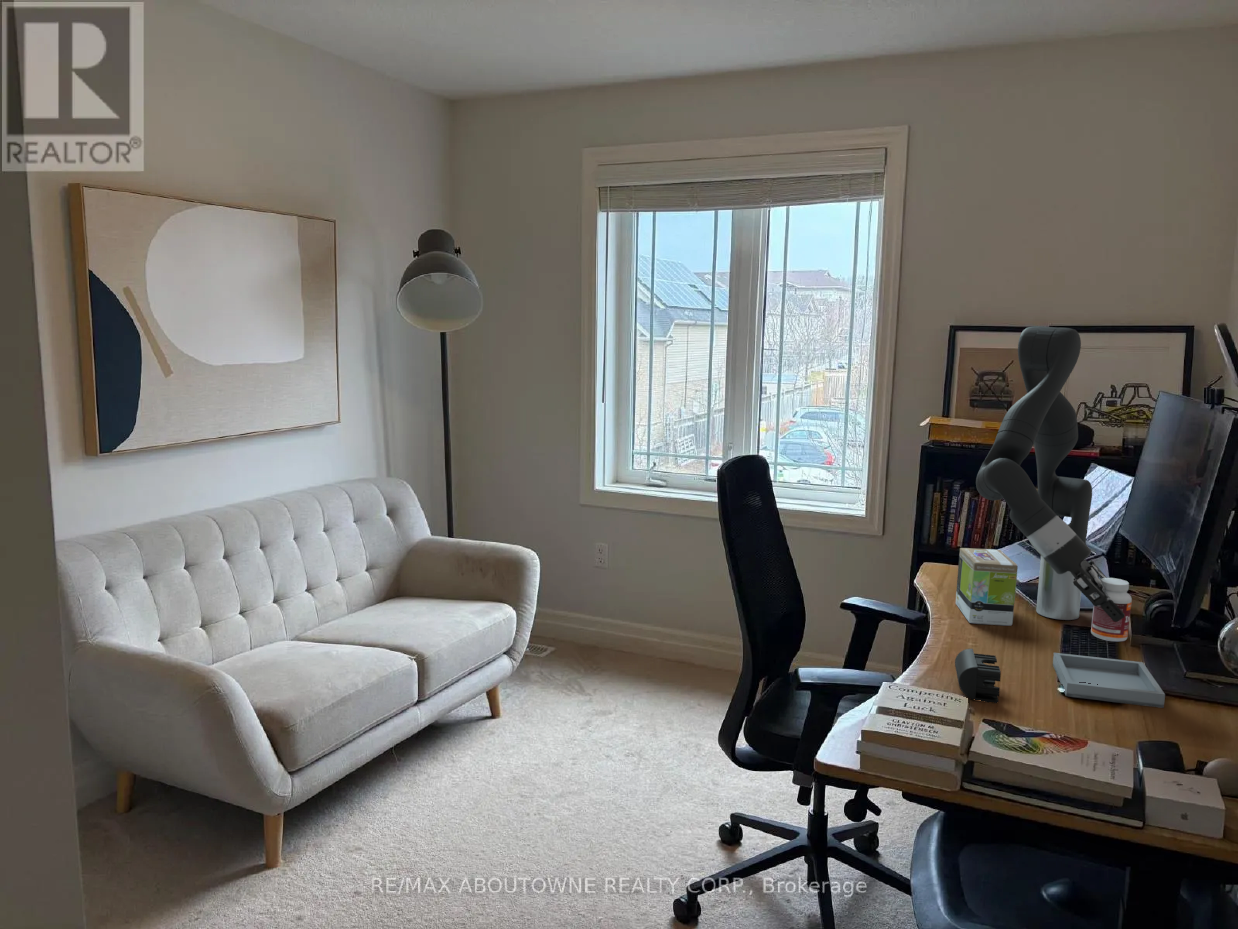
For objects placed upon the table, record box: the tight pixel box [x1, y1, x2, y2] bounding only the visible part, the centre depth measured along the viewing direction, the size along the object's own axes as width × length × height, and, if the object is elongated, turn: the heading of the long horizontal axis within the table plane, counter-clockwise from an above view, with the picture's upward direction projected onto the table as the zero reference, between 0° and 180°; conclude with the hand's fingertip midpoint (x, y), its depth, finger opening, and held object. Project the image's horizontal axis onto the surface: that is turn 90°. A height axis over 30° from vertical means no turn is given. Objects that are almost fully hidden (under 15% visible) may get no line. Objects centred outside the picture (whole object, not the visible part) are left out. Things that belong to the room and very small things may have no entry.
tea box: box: [955, 547, 1019, 627], centre depth 207 cm, size 15×10×15 cm
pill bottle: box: [1090, 577, 1133, 642], centre depth 165 cm, size 6×6×11 cm
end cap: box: [954, 648, 1002, 704], centre depth 164 cm, size 10×7×7 cm
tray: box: [1052, 652, 1166, 709], centre depth 168 cm, size 16×16×3 cm
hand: (1121, 614), depth 165 cm, fingers closed on pill bottle, 6 cm apart
